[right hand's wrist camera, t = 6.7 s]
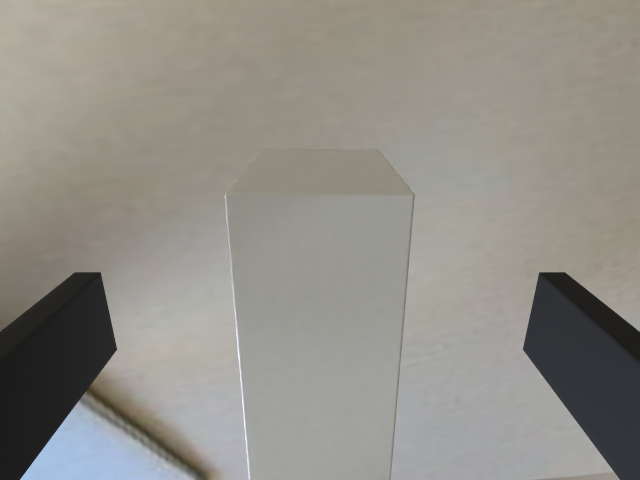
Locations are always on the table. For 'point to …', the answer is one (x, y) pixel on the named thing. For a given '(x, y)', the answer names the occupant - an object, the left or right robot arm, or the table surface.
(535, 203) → the table surface
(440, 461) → the table surface
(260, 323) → the bar
